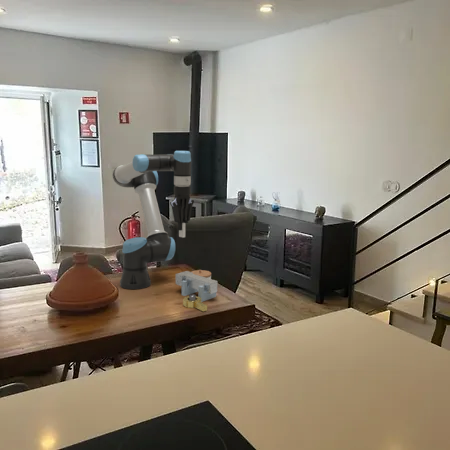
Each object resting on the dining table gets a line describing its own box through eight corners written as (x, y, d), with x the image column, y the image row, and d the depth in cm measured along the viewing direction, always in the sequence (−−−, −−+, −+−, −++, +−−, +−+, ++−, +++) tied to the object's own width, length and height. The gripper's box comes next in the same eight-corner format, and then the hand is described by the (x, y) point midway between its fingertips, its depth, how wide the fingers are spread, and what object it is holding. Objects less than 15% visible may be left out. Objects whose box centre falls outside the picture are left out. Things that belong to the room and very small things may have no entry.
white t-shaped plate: (175, 284, 207) (175, 273, 206) (186, 280, 212) (186, 270, 211) (208, 294, 193) (208, 283, 192) (219, 291, 198) (219, 280, 197)
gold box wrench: (180, 303, 192) (180, 298, 191) (194, 300, 196) (194, 294, 196) (197, 313, 181) (197, 307, 181) (212, 309, 186) (212, 303, 185)
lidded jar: (210, 292, 212) (210, 273, 210) (188, 291, 212) (188, 272, 210) (211, 285, 222) (211, 267, 221) (190, 284, 223) (190, 266, 221)
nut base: (177, 307, 191) (177, 295, 190) (192, 302, 198) (192, 290, 197) (192, 312, 185) (192, 300, 184) (206, 307, 192) (207, 295, 191)
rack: (180, 297, 204) (180, 280, 203) (194, 292, 211) (194, 276, 210) (203, 305, 194) (203, 287, 193) (217, 299, 201) (218, 283, 200)
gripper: (177, 187, 190) (177, 240, 195) (198, 185, 200) (198, 236, 204) (165, 185, 195) (165, 237, 199) (187, 184, 204) (187, 233, 209)
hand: (182, 236), depth 202 cm, fingers closed
